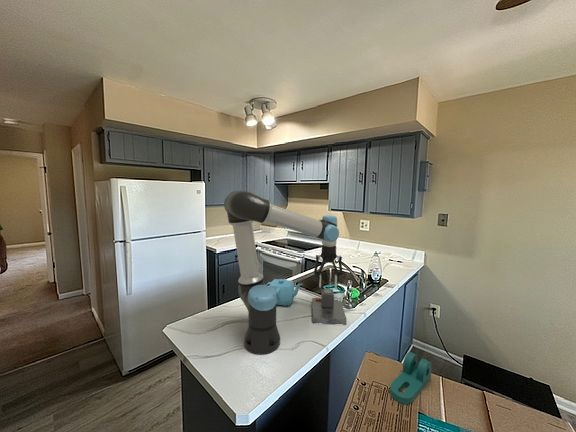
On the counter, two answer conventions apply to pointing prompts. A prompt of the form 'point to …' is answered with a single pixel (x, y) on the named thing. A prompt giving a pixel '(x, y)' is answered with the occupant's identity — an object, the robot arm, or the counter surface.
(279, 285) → the teapot
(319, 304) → the socket
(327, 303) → the plug
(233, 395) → the counter surface
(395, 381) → the bracket
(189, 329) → the counter surface
